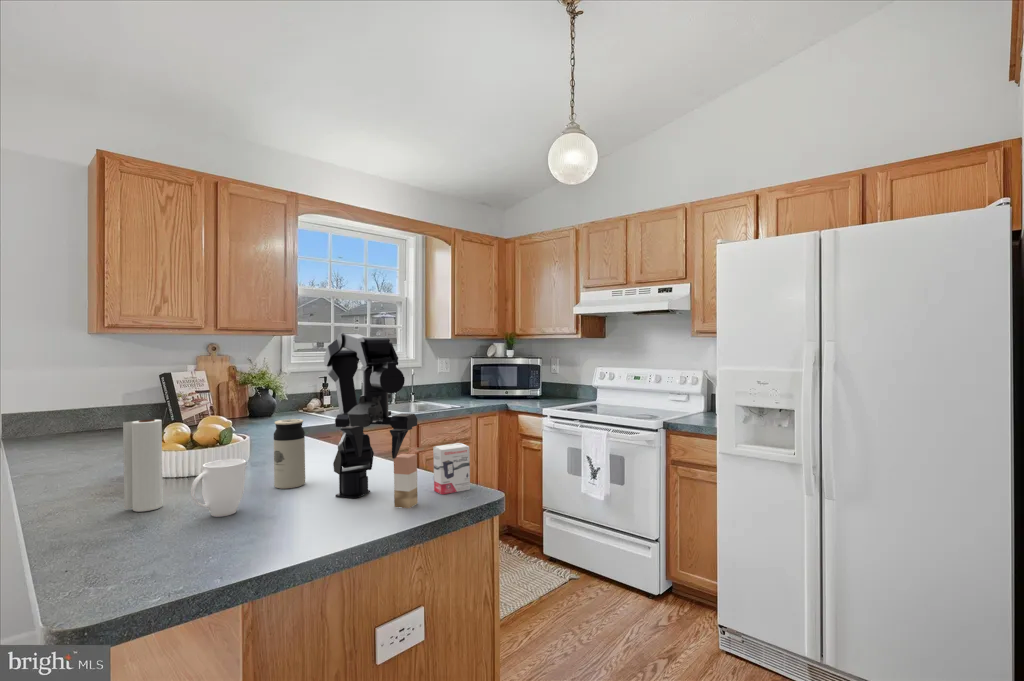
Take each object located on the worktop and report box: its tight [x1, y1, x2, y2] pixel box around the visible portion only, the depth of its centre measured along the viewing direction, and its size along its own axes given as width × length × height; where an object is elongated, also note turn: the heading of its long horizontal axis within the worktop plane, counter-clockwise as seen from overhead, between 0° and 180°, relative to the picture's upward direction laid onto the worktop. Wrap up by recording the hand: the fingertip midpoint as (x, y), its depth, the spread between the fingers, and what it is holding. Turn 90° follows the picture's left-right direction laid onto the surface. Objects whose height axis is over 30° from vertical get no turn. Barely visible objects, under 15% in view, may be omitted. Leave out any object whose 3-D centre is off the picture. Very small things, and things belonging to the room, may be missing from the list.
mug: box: [190, 458, 247, 518], centre depth 123 cm, size 12×9×12 cm
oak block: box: [393, 487, 419, 509], centre depth 129 cm, size 4×4×4 cm
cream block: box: [393, 470, 418, 492], centre depth 129 cm, size 4×4×4 cm
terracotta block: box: [393, 453, 418, 475], centre depth 129 cm, size 4×4×4 cm
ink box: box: [432, 442, 471, 496], centre depth 141 cm, size 8×5×12 cm, turn 123°
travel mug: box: [273, 418, 306, 490], centre depth 149 cm, size 8×8×18 cm
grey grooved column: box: [122, 418, 164, 513], centre depth 130 cm, size 7×6×21 cm
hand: (376, 457), depth 125 cm, fingers open, 9 cm apart
